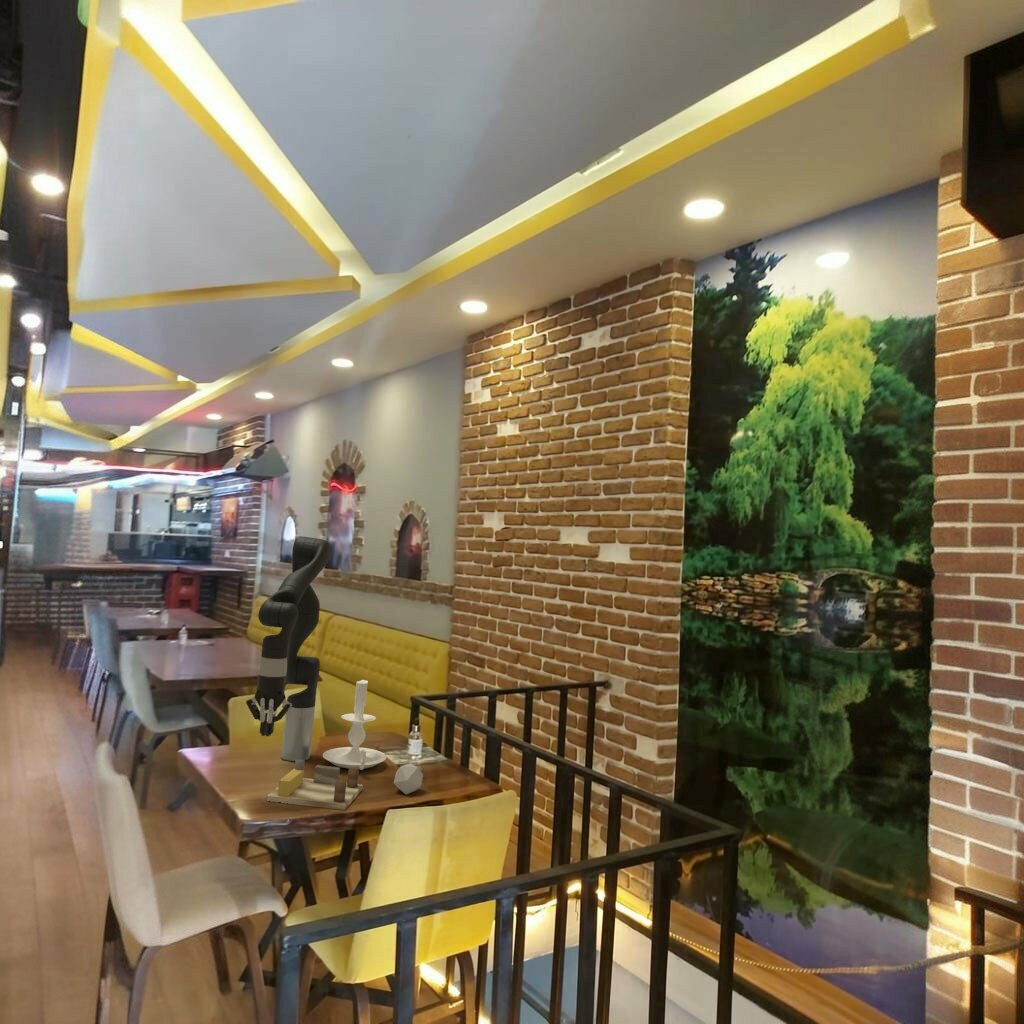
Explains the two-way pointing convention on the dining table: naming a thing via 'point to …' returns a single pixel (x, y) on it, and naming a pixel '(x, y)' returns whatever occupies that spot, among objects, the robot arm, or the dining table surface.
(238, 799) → the dining table surface
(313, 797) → the seat board
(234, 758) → the dining table surface
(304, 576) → the robot arm
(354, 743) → the candlestick
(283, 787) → the bar
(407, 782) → the die
